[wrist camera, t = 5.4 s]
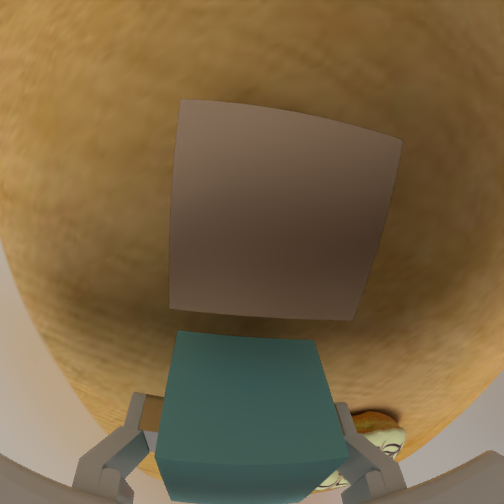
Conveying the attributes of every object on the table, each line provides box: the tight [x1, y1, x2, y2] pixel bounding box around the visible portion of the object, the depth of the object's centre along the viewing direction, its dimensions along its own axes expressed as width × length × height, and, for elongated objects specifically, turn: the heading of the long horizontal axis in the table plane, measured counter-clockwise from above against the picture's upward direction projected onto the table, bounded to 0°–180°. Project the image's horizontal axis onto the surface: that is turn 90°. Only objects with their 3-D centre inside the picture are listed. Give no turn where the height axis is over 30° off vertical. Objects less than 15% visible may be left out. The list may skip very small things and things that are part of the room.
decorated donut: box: [314, 411, 406, 491], centre depth 19 cm, size 10×11×4 cm
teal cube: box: [155, 330, 350, 504], centre depth 9 cm, size 5×5×5 cm
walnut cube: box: [169, 99, 403, 321], centre depth 9 cm, size 5×5×5 cm
